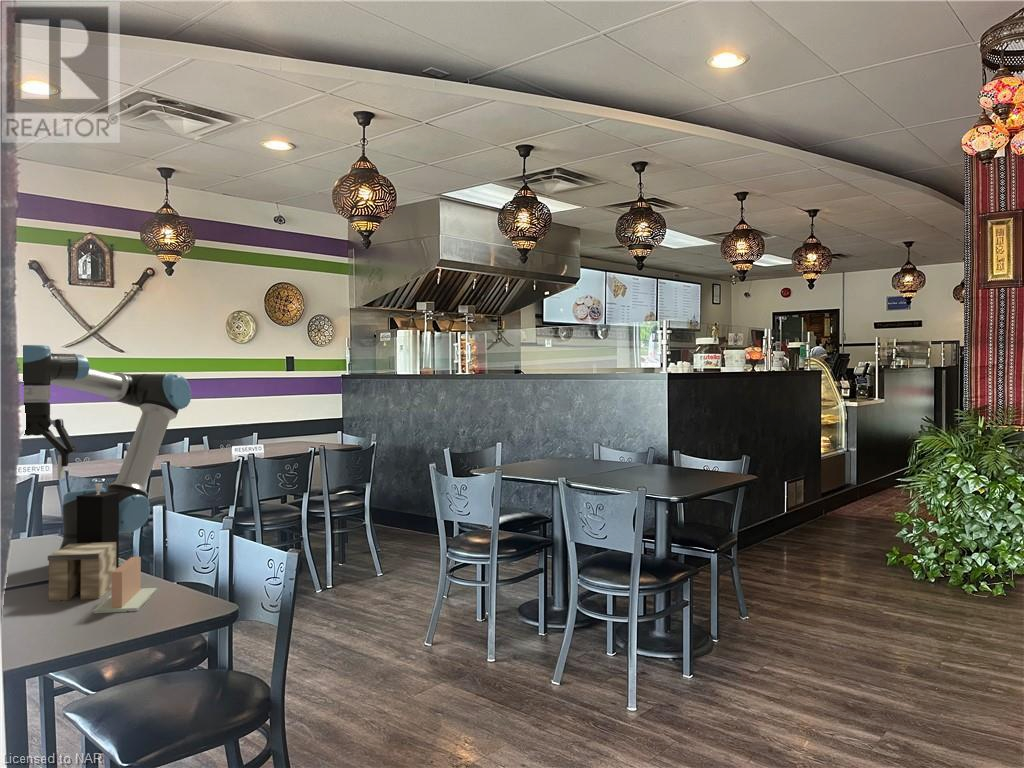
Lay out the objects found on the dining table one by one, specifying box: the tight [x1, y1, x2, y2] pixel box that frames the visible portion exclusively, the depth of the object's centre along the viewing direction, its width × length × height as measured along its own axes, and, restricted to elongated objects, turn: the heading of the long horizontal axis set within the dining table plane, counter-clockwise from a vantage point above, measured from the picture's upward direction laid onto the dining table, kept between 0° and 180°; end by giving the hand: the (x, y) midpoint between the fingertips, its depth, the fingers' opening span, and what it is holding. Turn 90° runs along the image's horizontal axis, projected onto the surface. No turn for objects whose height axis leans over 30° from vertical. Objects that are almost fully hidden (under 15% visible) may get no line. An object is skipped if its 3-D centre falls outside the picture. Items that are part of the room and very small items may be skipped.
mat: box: [93, 587, 158, 614], centre depth 191 cm, size 18×10×1 cm, turn 12°
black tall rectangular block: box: [77, 482, 120, 569], centre depth 212 cm, size 8×8×28 cm
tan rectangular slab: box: [110, 556, 142, 608], centre depth 191 cm, size 16×2×9 cm, turn 12°
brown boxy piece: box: [47, 542, 116, 602], centre depth 198 cm, size 15×12×12 cm
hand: (33, 479), depth 200 cm, fingers open, 13 cm apart
